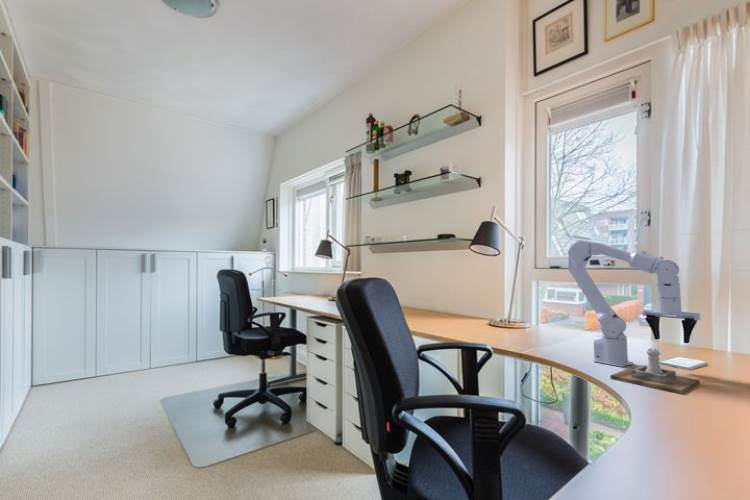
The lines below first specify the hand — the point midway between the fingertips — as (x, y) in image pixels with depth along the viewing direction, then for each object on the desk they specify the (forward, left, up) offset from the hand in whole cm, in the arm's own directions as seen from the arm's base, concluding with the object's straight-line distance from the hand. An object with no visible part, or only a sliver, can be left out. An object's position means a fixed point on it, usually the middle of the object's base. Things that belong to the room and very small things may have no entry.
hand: (671, 340), depth 117 cm
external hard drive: (-1, +11, -10) cm, 15 cm away
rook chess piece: (+1, -16, -9) cm, 18 cm away
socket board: (+1, -17, -9) cm, 19 cm away
